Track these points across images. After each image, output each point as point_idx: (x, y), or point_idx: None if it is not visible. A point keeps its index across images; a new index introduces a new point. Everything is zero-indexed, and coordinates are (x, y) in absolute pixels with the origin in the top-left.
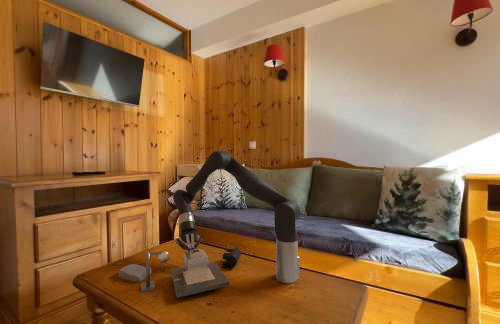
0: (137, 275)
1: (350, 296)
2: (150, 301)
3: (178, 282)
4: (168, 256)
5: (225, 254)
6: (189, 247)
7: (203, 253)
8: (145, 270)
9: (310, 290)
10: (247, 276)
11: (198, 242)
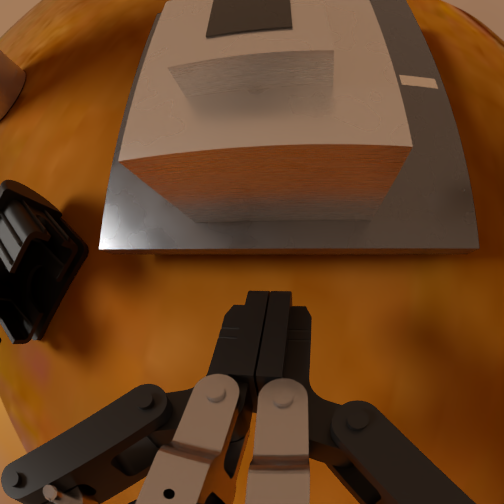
0: None
1: (7, 35)
2: (499, 81)
3: (409, 54)
4: None
5: (14, 231)
6: (283, 386)
7: (169, 52)
8: None
9: (21, 47)
10: (56, 125)
11: (97, 424)
